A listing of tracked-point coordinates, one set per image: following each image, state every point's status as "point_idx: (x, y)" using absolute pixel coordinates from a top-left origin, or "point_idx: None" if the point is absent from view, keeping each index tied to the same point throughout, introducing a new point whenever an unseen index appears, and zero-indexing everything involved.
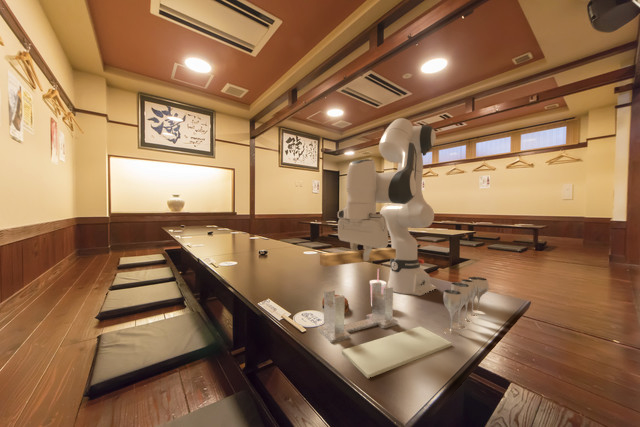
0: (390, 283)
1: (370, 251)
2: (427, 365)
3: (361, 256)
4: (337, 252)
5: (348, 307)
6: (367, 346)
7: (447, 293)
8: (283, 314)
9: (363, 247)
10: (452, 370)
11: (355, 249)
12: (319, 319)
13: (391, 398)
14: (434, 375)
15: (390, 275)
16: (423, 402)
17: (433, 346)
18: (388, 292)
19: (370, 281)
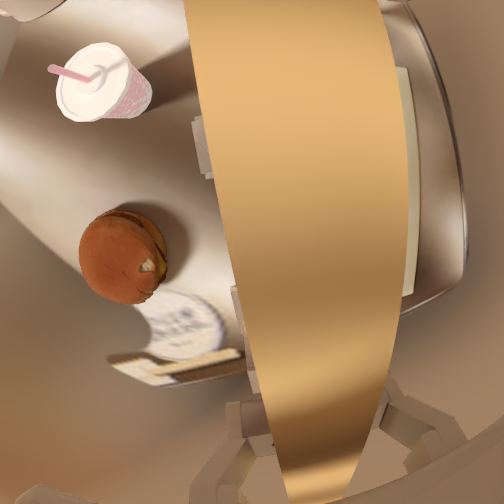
0: (26, 9)
1: (433, 411)
2: (431, 175)
3: None
4: (299, 502)
5: (138, 216)
6: None
7: None
8: (148, 371)
9: (406, 469)
10: (450, 147)
11: (243, 465)
12: (185, 312)
13: (442, 276)
14: (447, 186)
15: (6, 2)
16: (462, 242)
17: (408, 118)
18: None
19: (71, 114)
